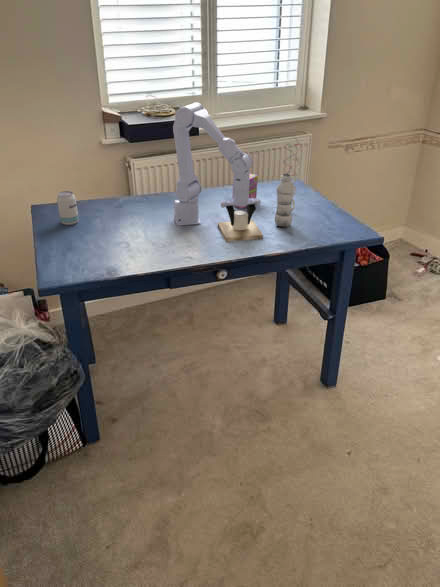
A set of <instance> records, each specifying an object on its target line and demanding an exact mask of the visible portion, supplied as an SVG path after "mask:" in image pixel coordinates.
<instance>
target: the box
mask: <svg viewBox="0 0 440 587" xmlns="http://www.w3.org/2000/svg"><path fill="white" fill-rule="evenodd" d="M258 177H259V176H258V175H257V174H254V173H250V178H249V198H255V199H256V198H257V194H258V193H257V192H258V179H259V178H258ZM231 199H233V196H232V198H231ZM234 208H239V209H245V208H247V206H234Z"/></svg>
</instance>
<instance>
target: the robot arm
mask: <svg viewBox="0 0 440 587" xmlns="http://www.w3.org/2000/svg"><path fill="white" fill-rule="evenodd" d="M174 116H175V118H174V122H173V126H172V131H173V138H174V144H175V145H174V146H175V153H176V159H177V165H178V172H179V177H178V179H177V180H176V189H175V196H176V197H177V198H176V199H175V200H174V201H173V209H174V211H173V212H174V215H173V216H174V220H175V224H176V226H189V225H201V224H202V222H201V220H200V217H199V216H200V215H199V214H200V213H199V195H201V194H200V193H201V192H202V185H201V183H200V181H199V177H198V176H197V175H196V174H195V172H194V163H193V162H194V161H193V156H192V148H191V141H190V140H191V139H190V131H191V129H192V127H193V128H199V129H203V131H204V132H206V134H207V135H209V137H210V138H211V139H212V140H213V141H214V142H215V143H216V144H217V147H218V148H217V149H218V151H219V152H220V153H221V154H222V156H223V157H224V158H225V159H226V160H227V161H228V162H229V163H230V168H231V171H232V174H233V178H232V197H233V199H232V198H230V199H226V200H225V199H224V200H220V207H221V209H224V208H226V211H227V213H228V217H229V219H230V221H229V222H231V225H232V226H234V212H235V211H236V210H235V209H234V208H235V206H247V207H246V212H247V213H248V224H250V220H252V217H253V214H254V213H255V212H256V210H257V206H261V199H260V198H258V197H256V199H255V198H249V178H250V174H251V173H250V171H251V168H252V166H253V164H254V162H253V158H252V157H251V155H250V154H248V153H245V152H244V151H243V150H242V149H240V147H239V146H238V145H237V143H236V141H235V139H232V138H230V137H225V135H224V134H223V132H222V131H221V130H220V128H219V127H218V126H217V125H216V124H215V122H214V121H213V119H212V118H211V117H210V115H209V112H208V110H207V109H206V108H204V106H203V105H202V104H201V103H200V102H196V101H195V102H193V103H191V104H187V105H186V106H180V108H179V109H177V111H176V112H175V113H174ZM256 205H257V206H256Z"/></svg>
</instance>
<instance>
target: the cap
mask: <svg viewBox="0 0 440 587" xmlns="http://www.w3.org/2000/svg"><path fill="white" fill-rule="evenodd" d="M232 227H233V229H235V230H245V229H247V228H248V213H247V211H244V210H235V212H234V226H232Z"/></svg>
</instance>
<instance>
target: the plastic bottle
mask: <svg viewBox="0 0 440 587" xmlns="http://www.w3.org/2000/svg"><path fill="white" fill-rule="evenodd" d="M292 178H293V174H289V173H288V174H285V173H283V174H281V178H280V182H279V183H278V185H277V187H276V200H277V203H276V205H277V206H276V211H275V215H274V223H275V225H276V226H278V227H281V228H286V227H290V226H291V224H292V221H293V217H292V216H293V214H292V211H291V209H292V206H293V201H292V199H294V196H293V195H294V192H295V190H294V187H293V185H292V183H291V182H293V181H292V180H293V179H292Z"/></svg>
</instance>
